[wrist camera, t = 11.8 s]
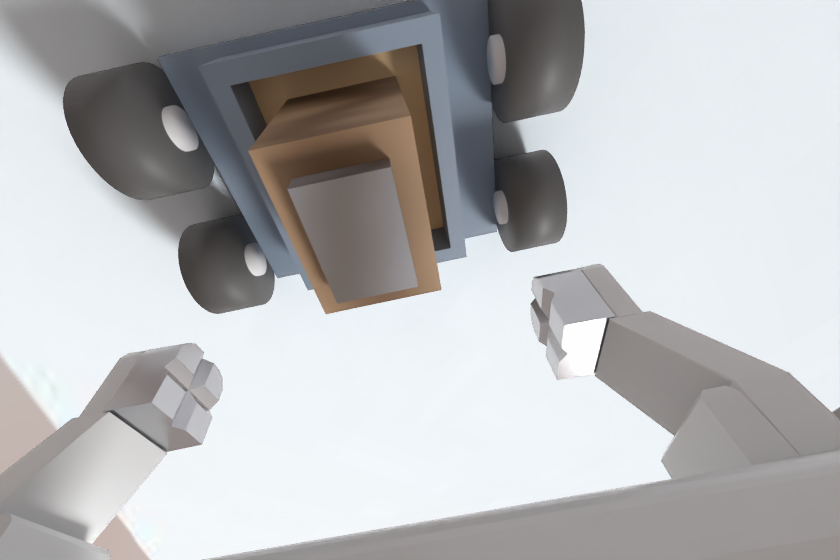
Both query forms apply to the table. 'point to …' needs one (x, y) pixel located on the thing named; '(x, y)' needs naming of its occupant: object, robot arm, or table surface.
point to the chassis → (326, 70)
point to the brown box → (351, 193)
